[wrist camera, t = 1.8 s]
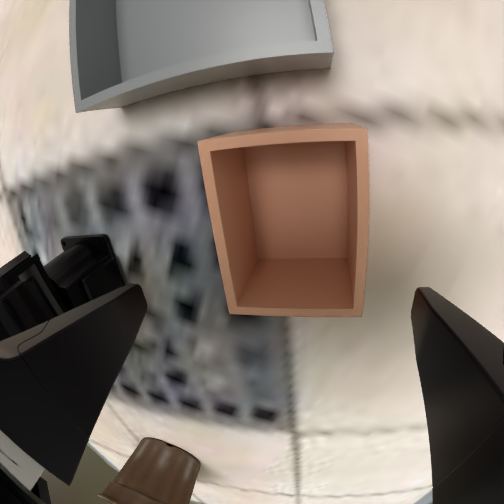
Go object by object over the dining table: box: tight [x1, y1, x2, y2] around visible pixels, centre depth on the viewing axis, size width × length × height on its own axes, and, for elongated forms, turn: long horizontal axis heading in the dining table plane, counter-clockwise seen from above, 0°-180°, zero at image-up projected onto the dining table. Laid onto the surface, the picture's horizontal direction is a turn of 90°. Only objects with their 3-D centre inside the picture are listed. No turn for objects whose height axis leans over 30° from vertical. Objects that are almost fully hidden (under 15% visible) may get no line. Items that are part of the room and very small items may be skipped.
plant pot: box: [98, 438, 200, 504], centre depth 37 cm, size 16×16×16 cm
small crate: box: [198, 123, 369, 317], centre depth 15 cm, size 7×9×6 cm
